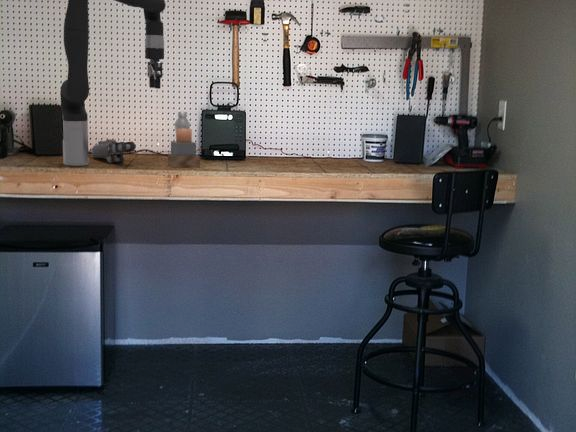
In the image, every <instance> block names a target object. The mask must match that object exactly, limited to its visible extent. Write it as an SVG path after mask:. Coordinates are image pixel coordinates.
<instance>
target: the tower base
mask: <svg viewBox="0 0 576 432" xmlns="http://www.w3.org/2000/svg"><path fill="white" fill-rule="evenodd" d="M200 159H201V158H200V155H199V154H196V156H175V155H173V154H171V153H167V165H168V166H169V167H172V168H173V167H174V168H173V169H188V168H189V169H191V168H190V167H199V168H200V166H201V164H200V163H201V162H200Z"/></svg>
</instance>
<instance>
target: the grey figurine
mask: <svg viewBox="0 0 576 432" xmlns="http://www.w3.org/2000/svg"><path fill="white" fill-rule="evenodd" d="M177 117H178V118H177V119H176V121H175V122H174V128H175V132H176V129H191V123H190V122H189V120H188V118H187V117H188V112H187V111H178V112H177Z"/></svg>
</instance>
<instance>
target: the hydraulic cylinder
mask: <svg viewBox="0 0 576 432" xmlns="http://www.w3.org/2000/svg"><path fill="white" fill-rule="evenodd" d="M97 143H98V144H95V145H93V146H92V148H91V155H92V156H93V157H94V158H95V159H105V158H106V161H107V162H108V164H114V163H118V164H123V162H125V156H124V153H134V152H135V150H136V148H137V145H136V144H135V142H134V141H126V142H125V141H120V142H118V141H116V139H115V138H113V139H112V138H111V139H105V140H100V141H97Z"/></svg>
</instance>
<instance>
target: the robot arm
mask: <svg viewBox="0 0 576 432" xmlns="http://www.w3.org/2000/svg"><path fill="white" fill-rule="evenodd" d="M114 1H115V2H118V3H120V4H123V5H127V6H128V7H133V8H140V9H143V14H144V15H143V17H144V21H145V40H144V53H145V54H144V57H145V58H144V59H146V60H149V61H147V77H148V84H149V85H148V86H149V88H150V89H161V79H162V78H163V62H162V61H160V60H165V38H164V23H163V21H162V19H161V13H162V12H163V11H165V9H166V7H167V6H166V1H165V0H114ZM89 20H90V19H89V0H67V8H66V11H65V17H64V21H63V47H64V52H65V57H66V59H67V66H68V67H67V69H68V70H67V79H66V80H64V81H63V82H62V84H61V86H60V92H59V93H60V109H61V114H62V120H63V121H62V125H63V126H62V128H63V129H62V131H63V134H62V136H63V139H62V159H63V160H62V161H63V162H62V163H63V165H64V166H72V167H73V166H74V167H75V166H81V167H82V166H88V165H89V129H88V128H89V124H88V122H89V119H88V113H87V111H86V105H85V101H86V100H87V99H88V96H89V95H90V83H89V73H88V69H89V68H88V65H89V64H88V61H89V40H90V38H89V37H90V32H89V31H90V27H89V26H90V24H89Z"/></svg>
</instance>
